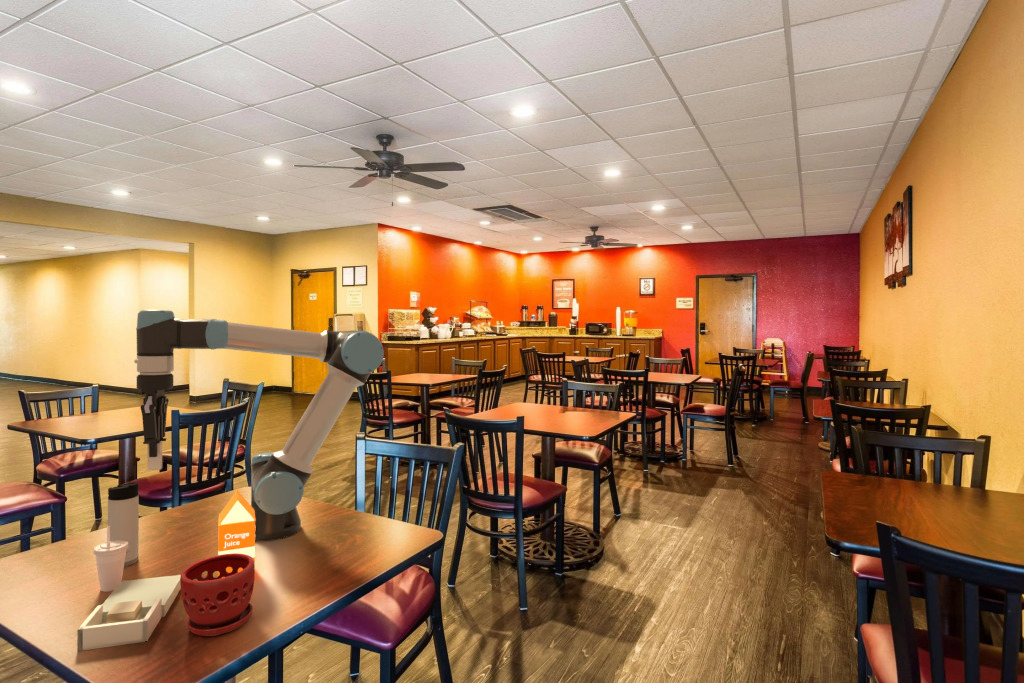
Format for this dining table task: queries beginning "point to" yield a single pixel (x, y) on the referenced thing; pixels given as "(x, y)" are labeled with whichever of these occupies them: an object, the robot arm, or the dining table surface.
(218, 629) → the plant pot
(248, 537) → the orange juice
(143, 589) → the board
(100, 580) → the smoothie
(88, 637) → the tray
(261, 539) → the robot arm
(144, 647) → the dining table surface
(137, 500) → the travel mug
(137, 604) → the tile rear
